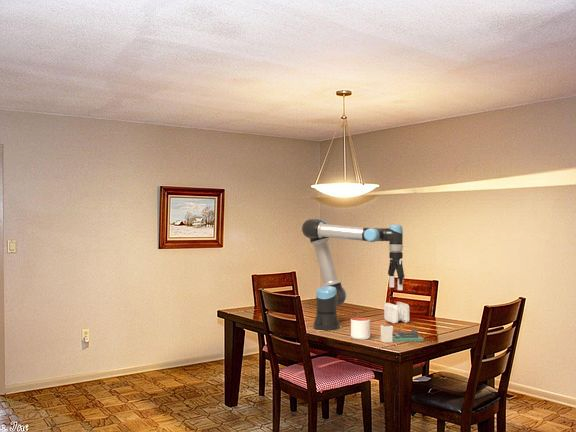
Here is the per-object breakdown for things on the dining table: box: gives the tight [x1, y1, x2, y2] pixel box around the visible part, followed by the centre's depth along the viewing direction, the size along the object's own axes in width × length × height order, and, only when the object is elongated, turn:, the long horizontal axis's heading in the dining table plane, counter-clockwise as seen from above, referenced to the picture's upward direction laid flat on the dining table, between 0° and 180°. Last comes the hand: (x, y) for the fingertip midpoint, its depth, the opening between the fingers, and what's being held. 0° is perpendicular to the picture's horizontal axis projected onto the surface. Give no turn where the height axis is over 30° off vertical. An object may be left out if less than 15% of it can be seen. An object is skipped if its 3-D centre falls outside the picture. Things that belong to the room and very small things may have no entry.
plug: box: [380, 324, 394, 343], centre depth 287 cm, size 6×4×8 cm
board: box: [392, 328, 425, 343], centre depth 293 cm, size 16×14×4 cm
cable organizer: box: [383, 301, 410, 325], centre depth 342 cm, size 15×11×12 cm
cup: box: [350, 317, 371, 341], centre depth 294 cm, size 10×10×10 cm
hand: (395, 288), depth 320 cm, fingers open, 13 cm apart
